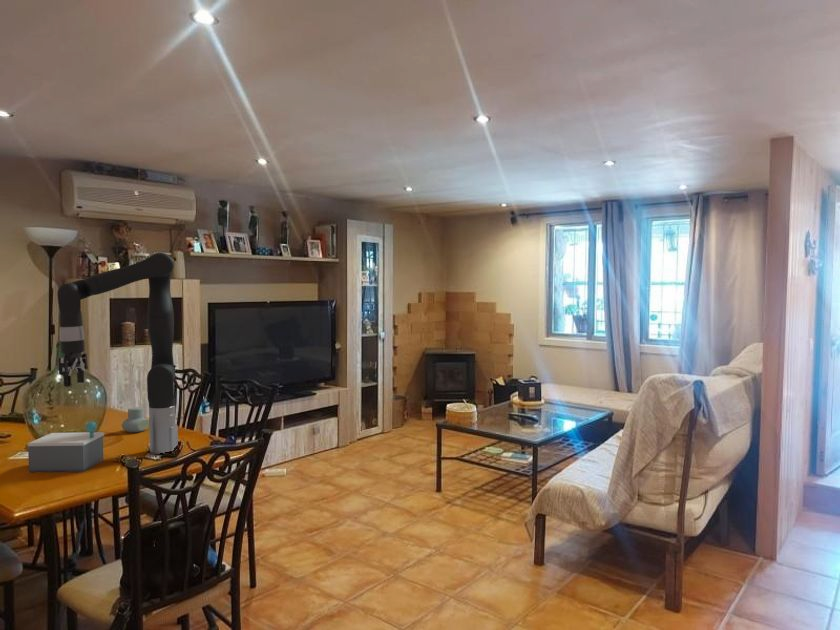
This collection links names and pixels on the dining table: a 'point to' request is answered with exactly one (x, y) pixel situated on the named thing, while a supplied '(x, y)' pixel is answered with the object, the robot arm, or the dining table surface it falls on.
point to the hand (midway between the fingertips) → (74, 384)
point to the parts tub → (65, 457)
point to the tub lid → (69, 438)
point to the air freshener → (135, 420)
